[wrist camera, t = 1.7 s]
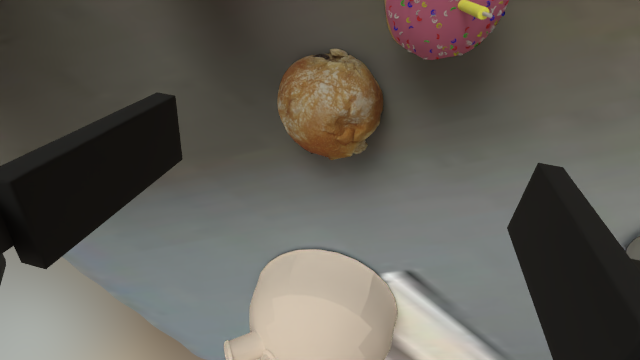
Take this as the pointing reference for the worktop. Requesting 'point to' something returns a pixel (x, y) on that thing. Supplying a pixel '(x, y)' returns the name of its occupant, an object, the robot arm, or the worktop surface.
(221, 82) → the worktop surface
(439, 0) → the cupcake
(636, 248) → the plastic bottle
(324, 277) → the kettle
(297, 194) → the worktop surface
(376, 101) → the bread roll
